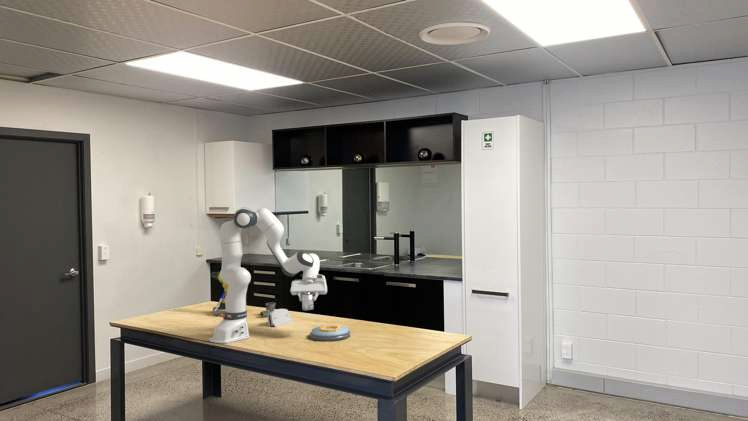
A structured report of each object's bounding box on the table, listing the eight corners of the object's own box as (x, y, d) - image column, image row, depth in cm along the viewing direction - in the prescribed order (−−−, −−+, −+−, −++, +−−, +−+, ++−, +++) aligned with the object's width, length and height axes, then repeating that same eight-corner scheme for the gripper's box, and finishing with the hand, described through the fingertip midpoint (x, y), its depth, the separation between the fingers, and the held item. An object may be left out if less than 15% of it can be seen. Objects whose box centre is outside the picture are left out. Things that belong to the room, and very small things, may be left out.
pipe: (258, 317, 352) (258, 305, 351) (270, 313, 363) (270, 301, 363) (265, 318, 349) (265, 306, 349) (278, 314, 360) (278, 302, 360)
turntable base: (334, 343, 284) (334, 339, 284) (301, 338, 296) (301, 334, 296) (358, 334, 303) (357, 330, 303) (326, 329, 315) (326, 326, 315)
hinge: (274, 327, 324) (270, 311, 325) (269, 329, 326) (264, 312, 328) (293, 321, 338) (289, 306, 339) (288, 323, 340) (283, 308, 342)
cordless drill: (239, 309, 380) (238, 269, 379) (241, 314, 362) (240, 273, 361) (211, 311, 375) (210, 271, 374) (212, 317, 357) (211, 274, 356)
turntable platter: (333, 338, 286) (333, 333, 286) (304, 334, 297) (303, 329, 297) (355, 330, 303) (355, 325, 302) (326, 326, 313) (326, 322, 313)
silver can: (308, 310, 296) (308, 293, 295) (300, 309, 299) (299, 293, 299) (315, 308, 301) (315, 291, 300) (307, 307, 304) (306, 291, 304)
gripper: (291, 276, 307) (287, 297, 298) (327, 275, 305) (324, 296, 296) (293, 283, 312) (289, 303, 302) (328, 282, 310) (326, 303, 301)
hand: (307, 300), depth 299 cm, fingers closed on silver can, 6 cm apart
